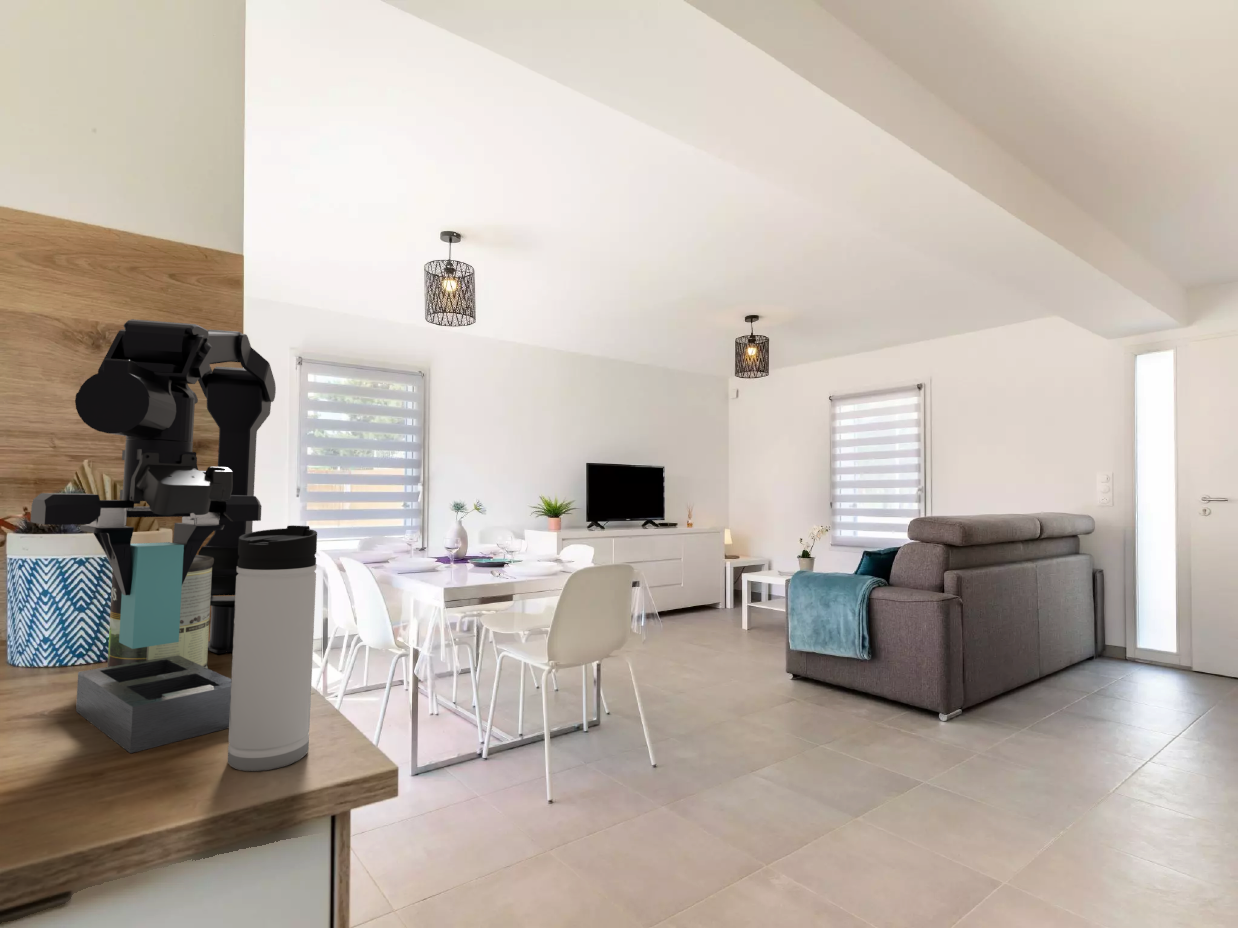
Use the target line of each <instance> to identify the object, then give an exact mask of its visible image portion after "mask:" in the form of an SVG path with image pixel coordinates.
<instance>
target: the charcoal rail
mask: <svg viewBox="0 0 1238 928" xmlns="http://www.w3.org/2000/svg"><path fill="white" fill-rule="evenodd" d="M230 698H231V678H230V677H228V676H226V675H224V674H220V673H219V672H217V671H214V670H212V669H210V668H205V667H203V666H201V665H199V664H197V663H194V662H192V661H190V660H188V659H186V658H183V657H181V656H179V655H177V656H171V657H165V658H159V659H153V660H147V661H141V662H135V663H129V664H123V665H117V666H110V667H107V666H106V667H99V668H93V669H88V670H87V669H86V670H82V671H78V672H77V686H76V704H75V705H76V706H75V712H76V713H77V714H78V715H80V716H81V717H82V718H84V719H85V720H87V721H88V722H89V723H90V724H92V725H93V726H94V727H96V728H97V729H98V730H100V732H102V733H103V734H104V735H106V736H107V737H109V739H111V740H112V741H113V742H115V743H116V744H118V745H119V746H120V747H122V748H123V750H125V751H126V752H128V753H129V754H132V753H137V752H141V751H145V750H149V749H153V748H156V747H160V746H164V745H168V744H173V743H177V742H179V741H184V740H188V739H191V738H195V737H199V736H203V735H208V734H211V733H214V732H220V731H222V730H223V731H224V730H226V729H229V719H230Z"/></svg>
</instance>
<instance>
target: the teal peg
mask: <svg viewBox="0 0 1238 928" xmlns="http://www.w3.org/2000/svg"><path fill="white" fill-rule="evenodd" d="M183 552H184V545H182V544H176V543H173V542H170V541H166V542H147V543H146V542H142V543H131V566H132V585H131V593H130V595H127V596H126V595H123V594H122V598H121V616H120V634H119V643H121V644H124V645H126V646H128V647H130V648H132V649H135V648H141V647H148V646H155V645H162V644H169V643H175V642H179V628H180V609H181V590H182V571H183Z"/></svg>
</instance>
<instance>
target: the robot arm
mask: <svg viewBox="0 0 1238 928" xmlns="http://www.w3.org/2000/svg"><path fill="white" fill-rule="evenodd" d="M223 363H240V366H241V367H231V366H230V367H229V366H228V367H227V366H215V367H214V368H213V370H212V367H211V365H214V364H223ZM272 370H273V369H272V367H271V364H270V362H269V361H268V360H267V359H265V358H264V357H263V356H262V355H261V354H259V352H257V351H256V350H255V349H254V348H253V347H252V346H251V342H250V339H249V337H248V335H247V334H246V333H242V332H240V331H233V330H223V329H220V330H219V329H207V328H204V327H202V326H200V325H198V324H195V323H183V322H174V321H173V322H172V321H159V320H148V319H147V320H145V319H134V318H132V319H129V320H127V321H126V322H124V324H123V329H120V330H119V331H118V332H117V334H116V335H115V337H114V339H113V341H112V344H111V345H110V347H109V348H108V350H107V352H106V354H105V356H104V359H103V360H102V362H101V364H100V365H99V367H98V369H97V373H95V374H93V375H92V376H90V377H88V378H87V379H86V380H85V381H84V382H83V383H82V384H81V386H80V388H79V390H78V391H77V392H76V394H75V398H74V403H75V409H76V412H77V414H78V416H79V418H80V419H81V420H82V422H83V423H84V424H86V425H87V426H88V427H89V428H91V429H93V430H94V431H97V432H100V433H105V434H109V435H117V436H122V437H125V447H124V449H122V456H121V460H122V461H124V463H123V464H124V466H123V480H122V481H123V484H122V489H120V490H119V499H101V498H100V496H99V494H96V493H95V494H94V493H67V492H66V493H63V492H62V493H58V492H57V493H55V492H54V493H53V492H50V493H49V492H46V493H45V492H40V493H39V494H38V495H37V496H36V497H35V498H33V499H32V503H31V509H30V510H31V511H30V523H34V524H38V525H39V524H41V525H43V526H44V525H46V526H50V525H51V526H60V525H80V528H79V531H82V532H88V533H93V536H94V537H95V538H96V540H97V543H98V544H99V546H100V547H101V549H102V550H103V552H104V554H105V555H106V558H107V560H108V562H109V565H110V567H111V570H112V572H114V575H115V577H116V579H117V582H118V584H119V587H120V589H121V592H122V594H123V595H126V596H127V595H130V593H131V585H132V566H131V544H132V543H131V541H132V538H133V533H134V530H135V527H134V526H128V525H127V518H175V517H176V518H181V517H182V518H181V522H175V523H174V525H173V526H174V528H173V541H172V543H176V544H182V545H184V552H183V571H182V584H183V582H184V580H185V578H186V576H187V573H188V571H189V569H190V567H191V565H192V562H193V560H194V558H195V556H196V555H203V556H210V557H213V558H214V563H213V565H212V579H211V598H210V624H209V640H208V651H210V652H212V653H215V654H225V653H231V652H232V653H233V634H234V613H235V592H236V576H237V575H238V573H237V566H238V559H239V555H238V545H239V537H240V536H242V535H244V534H247V533H251V532H253V523H254V522H256V521H257V522H260V521H261V520H262V504H261V502H260V500H259V498H258V497H257V496H256V495H255V480H256V478H255V476H256V459H257V458H256V456H257V455H256V454H257V451H256V450H257V437H258V435H257V434H258V433H257V432H258V430H259V429H260V428H261V427H262V425H263V424H264V423H265V422H266V420H267V419H268V417H269V416H270V414H271V406H272V403H274V402H275V398H276V393H277V392H276V381H275V376H274V373H273V372H272ZM197 382H198V383H199V386H200V388H201V391H202V392H203V394H204V397H205V398H206V409H207V411H208V413H209V414H210V416H211V418H212V419H213V420H214V423H215V424H216V425H217V427H218V431H219V432H218V450H217V451H218V452H217V466H208V467H207V468H206V470H199V467H198V458H197V452H196V451H193V447H194V446H193V444H194V443H193V442H194V424H195V423H194V422H195V405H196V404H197V403H198V396H197V394H196V392H194V391H193V389H191V388H190V386H189V385H195V384H196V383H197ZM141 502H146V504H147V505H148V506H135V505H140V504H141ZM213 532H214V533H213ZM212 533H213V534H212ZM210 535H212V536H211V537H210V538H209V540H208V541H207V543H206V544H205V545H203V543H204V542H205V541H206V539H208V537H209V536H210Z"/></svg>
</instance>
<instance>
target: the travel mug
mask: <svg viewBox="0 0 1238 928" xmlns="http://www.w3.org/2000/svg"><path fill="white" fill-rule="evenodd" d="M317 545H318V532H317V531H316V530H314V529H310V526H309V525H292V524H291V525H287V527H286V528H272V529H265V530H264V529H263V530H256V531H252V532H251V533H247V534H244V535H242V536H240V537H239V545H238V555H239V559H238V566H237V573H238V575H237V576H236V592H235V595H234V596H235V613H234V634H233V651H232V661H231V678H230V679H231V698H230V719H229V728H228V745H227V764H229V765H230V767H232V768H233V769H236V770H237V771H238V770H239V771H244V772H263V771H270V770H277V769H280V768H283V767H287V766H289V765H291V764H295V763H296V762H299V761H300V760H301V759H303V757H305V756H306V755H307V754H308V752H309V749H310V734H309V733H310V725H311V702H312V701H311V700H312V698H311V697H312V680H313V679H312V678H313V677H312V676H313V657H314V656H313V655H314V653H313V652H314V636H315V635H314V634H315V633H314V632H315V610H316V609H315V607H316V606H315V605H316V588H317V587H316V585H317V583H316V582H317V572H316V570H317V566H318V565H317V557H316V554H317V547H318V546H317Z"/></svg>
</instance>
